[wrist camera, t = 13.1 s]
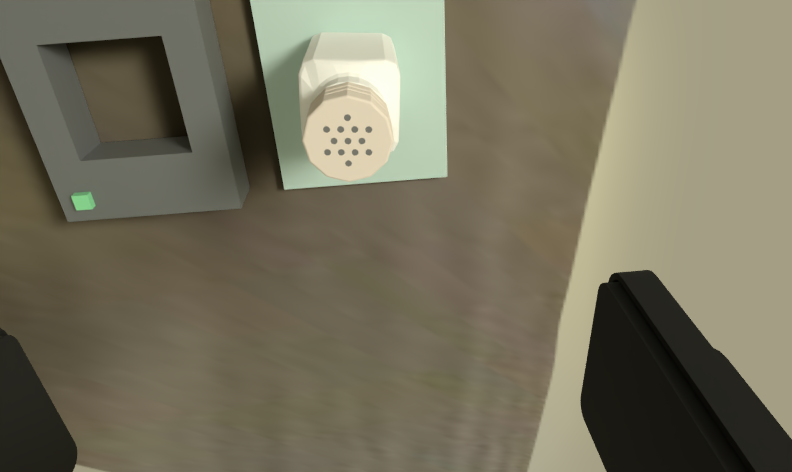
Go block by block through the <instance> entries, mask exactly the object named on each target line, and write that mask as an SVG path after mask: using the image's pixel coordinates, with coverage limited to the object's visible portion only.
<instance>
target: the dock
mask: <svg viewBox="0 0 792 472" xmlns="http://www.w3.org/2000/svg"><path fill="white" fill-rule="evenodd" d="M151 36H162V39H163V43H164V47H165V51H166V55H167V58H168V62H169V66H170V70H171V73H172V77H173V81H174V85H175V89H176V92H177V96H178V100H179V104H180V108H181V111H182V115H183V119H184V123H185V126H186V130H187V134H188V136H182V137H170V138H157V139H144V140H131V141H118V142H105V143H101V142H100V139H99V137H98V134H97V131H96V128H95V125H94V122H93V119H92V117H91V114H90V111H89V108H88V105H87V102H86V99H85V97H84V94H83V91H82V88H81V85H80V82H79V79H78V77H77V74H76V71H75V68H74V65H73V62H72V59H71V57H70V54H69V51H68V48H67V45H66V43H71V42H85V41H98V40H111V39H125V38H138V37H151ZM0 58H1V61H2V63H3V66H4V68H5V71H6V73H7V75H8V78H9V80H10V83H11V85H12V88H13V90H14V92H15V95H16V97H17V100H18V102H19V105H20V107H21V109H22V112H23V114H24V117H25V119H26V121H27V124H28V126H29V129H30V131H31V134H32V136H33V138H34V141H35V143H36V146H37V148H38V151H39V153H40V155H41V158H42V160H43V163H44V165H45V168H46V170H47V172H48V175H49V177H50V180H51V182H52V184H53V187H54V189H55V192H56V194H57V197H58V199H59V201H60V204H61V206H62V209H63V211H64V214H65V216H66V218H67V221H68V222H74V221H87V220H99V219H112V218H125V217H137V216H150V215H163V214H176V213H188V212H201V211H214V210H227V209H239V208H242V206H243V203H244V201H245V199H246V196H247V194H248V191H249V189H250V186H249V181H248V176H247V172H246V167H245V163H244V158H243V153H242V149H241V144H240V139H239V135H238V130H237V125H236V121H235V116H234V112H233V107H232V102H231V98H230V93H229V88H228V84H227V79H226V75H225V70H224V65H223V61H222V56H221V51H220V47H219V42H218V37H217V33H216V28H215V24H214V19H213V14H212V10H211V5H210V0H0Z"/></svg>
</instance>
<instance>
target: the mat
mask: <svg viewBox="0 0 792 472" xmlns="http://www.w3.org/2000/svg"><path fill="white" fill-rule="evenodd" d="M250 3H251V9H252V14H253V20H254V25H255V31H256V36H257V42H258V47H259V53H260V58H261V64H262V69H263V75H264V80H265V86H266V91H267V97H268V102H269V108H270V113H271V119H272V124H273V130H274V135H275V141H276V146H277V152H278V157H279V163H280V168H281V174H282V179H283V185H284V190H285V189H298V188H310V187H323V186H336V185H349V184H361V183H374V182H387V181H400V180H413V179H425V178H438V177H447V135H446V78H445V21H444V0H250ZM321 32H347V33H383V34H385V35H387V36H389V37H391V40H392V42H393V45H394V48H395V53H396V57H397V62H398V66H399V71H400V119H399V142H398V144H397V146H396V148H395V149H394V151H392V152H390V155H389V158H388V161H387V162H386V163H385V164H384V165H383V166H382V167H381V168H380V169H379V170H378V171H377V172H376V173H374V174H373V175H372V176H371V177H368V178H364V179H359V180H355V181H351V182H347V181H342V180H338V179H334V178H330V177H326V176H325V175H324V174H323V173H322V172H321V171H320V170H318V169H317V168H316V167H315V166H314V165H313V164H312V163H310V162H309V159H308V156H307V153H306V151H305V148H304V145H303V142H302V129H301V118H300V102H299V81H298V73H299V70H300V67H301V64H302V62H303V59H304V57H305V54H306V52H307V49H308V47H309V44H310V42H311V39H312V37H313V36H314V35H316V34H319V33H321Z"/></svg>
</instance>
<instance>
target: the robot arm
mask: <svg viewBox="0 0 792 472" xmlns="http://www.w3.org/2000/svg"><path fill="white" fill-rule="evenodd" d="M581 410H582V414H583V418H584V421H585V423H586V425H587V428H588V430H589V432H590V434H591V437H592V439H593V441H594V443H595V446H596V448H597V451H598V453H599V455H600V458H601V460H602V462H603V465H604V467H605V469H606V471H607V472H792V439H791V438H790V437H789V436H788V435H787V433H786V432H785V431H784V430H783V428H782V427H781V426H780V424H779V423H778V422H777V421H776V419H775V418H774V417H773V415H772V414H771V413H770V412H769V411H768V409H767V408H766V407H765V405H764V404H763V403H762V402H761V400H760V399H759V398H758V397H757V395H756V394H755V393H754V392H753V391H752V389H751V388H750V387H749V386H748V384H747V383H746V382H745V380H744V379H743V378H742V377H741V375H740V374H739V373H738V372H737V370H736V369H735V368H734V367H733V365H732V364H731V363H730V362H729V360H728V359H727V358H726V357H725V356H724V355H723V354H722V353H721V352H720V351H718V350H716V349H714V348H713V347H712V346H711V345H710V344H709V342H708V341H707V340H706V339H705V337H704V336H703V335H702V333H701V332H700V331H699V330H698V328H697V327H696V326H695V324H694V323H693V322H692V321H691V319H690V318H689V317H688V315H687V314H686V313H685V312H684V310H683V309H682V308H681V307H680V305H679V304H678V303H677V301H676V300H675V299H674V298H673V296H672V295H671V294H670V293H669V291H668V290H667V289H666V288H665V286H664V285H663V284H662V282H661V281H660V280H659V278H658V277H657V276H656V275H655V274H654V273H653V272H652V271H649V270H643V271H633V272H620V273H614V274H612V275H611V277H610V278H609V282H608V283H602V284H601V285H600V286H599V289H598V295H597V301H596V307H595V313H594V319H593V325H592V332H591V337H590V344H589V350H588V356H587V363H586V368H585V374H584V380H583V387H582V393H581ZM76 460H77V447H76V444H75V442H74V440H73V438H72V437H71V435H70V433H69V431H68V430H67V428H66V426H65V424H64V422H63V421H62V419H61V417H60V415H59V413H58V412H57V410H56V408H55V406H54V404H53V403H52V401H51V399H50V397H49V396H48V394H47V392H46V390H45V388H44V387H43V385H42V383H41V381H40V379H39V378H38V376H37V374H36V372H35V370H34V369H33V367H32V365H31V363H30V362H29V360H28V358H27V356H26V354H25V353H24V351H23V349H22V347H21V345H20V344H19V342H18V341H17V339H16V338H15V337H13V336H11V335H8V334H7V333H6V332H5V331H4V330H2V329H1V328H0V472H72V471H73V469H74V467H75V464H76Z"/></svg>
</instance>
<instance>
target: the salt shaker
mask: <svg viewBox="0 0 792 472" xmlns="http://www.w3.org/2000/svg"><path fill="white" fill-rule="evenodd" d="M298 81H299V102H300V118H301V129H302V142H303V145H304V148H305V151H306V153H307V156H308V159H309V162H310V163H312V164H313V165H314V166H315V167H316V168H317V169H318V170H320V171H321V172H322V173H323V174H324V175H325V176H326V177H330V178H334V179H338V180H342V181H347V182H351V181H355V180H359V179H364V178H368V177H371V176H372V175H373V174H374V173H376V172H377V171H378V170H379V169H380V168H381V167H382V166H383V165H384V164H385V163H386V162H387V161H388V158H389V155H390V152H392V151H394V149H395V148H396V146H397V144H398V142H399V119H400V71H399V66H398V62H397V57H396V53H395V48H394V45H393V42H392V40H391V37H389V36H387V35H385V34H383V33H347V32H321V33H319V34H316V35H314V36H313V37H312V39H311V42H310V44H309V47H308V49H307V52H306V54H305V57H304V59H303V62H302V64H301V67H300V70H299V73H298Z"/></svg>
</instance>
